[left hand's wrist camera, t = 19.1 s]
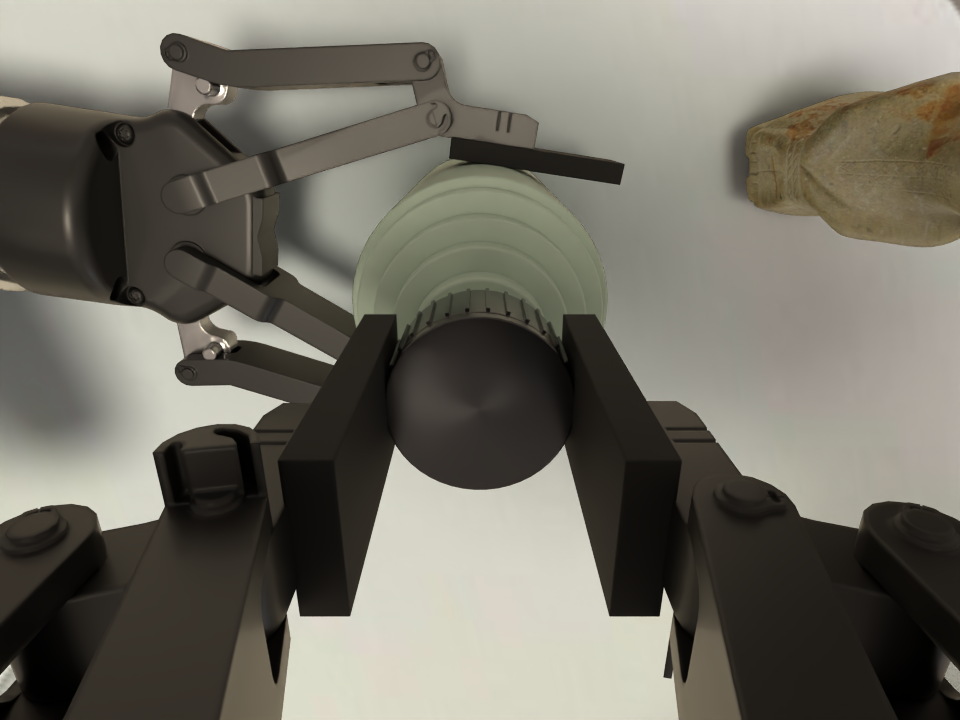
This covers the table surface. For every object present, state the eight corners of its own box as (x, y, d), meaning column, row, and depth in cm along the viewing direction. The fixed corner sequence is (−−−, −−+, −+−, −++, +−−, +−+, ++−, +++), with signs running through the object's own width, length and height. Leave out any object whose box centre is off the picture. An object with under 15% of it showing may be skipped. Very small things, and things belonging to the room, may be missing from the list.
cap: (544, 456, 15) (553, 505, 13) (383, 429, 15) (369, 476, 13) (584, 304, 14) (602, 334, 12) (407, 271, 14) (394, 296, 12)
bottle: (545, 138, 29) (649, 165, 11) (568, 296, 32) (679, 516, 14) (383, 171, 30) (239, 248, 12) (421, 324, 33) (350, 568, 15)
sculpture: (870, 202, 30) (1205, 272, 16) (725, 223, 30) (932, 308, 17) (882, 76, 28) (1281, 31, 14) (726, 99, 28) (964, 79, 14)
